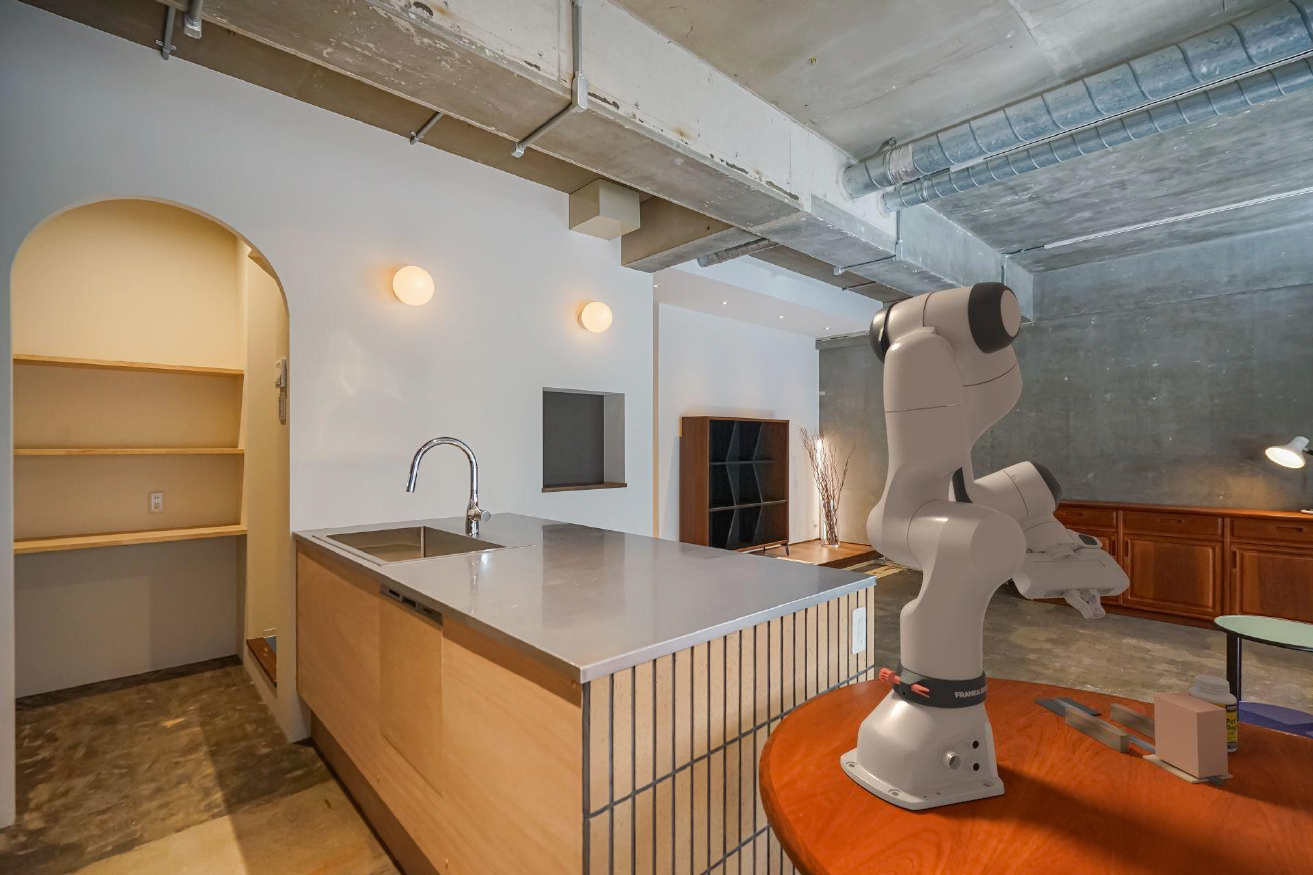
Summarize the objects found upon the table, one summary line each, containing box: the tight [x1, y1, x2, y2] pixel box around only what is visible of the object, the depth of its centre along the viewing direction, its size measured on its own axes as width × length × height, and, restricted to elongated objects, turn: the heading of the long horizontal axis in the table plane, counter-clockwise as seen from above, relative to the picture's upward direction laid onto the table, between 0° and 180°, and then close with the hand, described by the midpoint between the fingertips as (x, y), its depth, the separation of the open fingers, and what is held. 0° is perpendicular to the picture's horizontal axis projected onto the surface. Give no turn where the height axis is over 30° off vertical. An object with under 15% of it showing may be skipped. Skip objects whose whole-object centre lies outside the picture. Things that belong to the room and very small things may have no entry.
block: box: [1153, 692, 1229, 778], centre depth 87 cm, size 6×5×9 cm
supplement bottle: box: [1188, 674, 1239, 753], centre depth 94 cm, size 6×6×10 cm
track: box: [1049, 697, 1225, 786], centre depth 97 cm, size 28×10×2 cm, turn 10°
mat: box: [1142, 753, 1234, 784], centre depth 88 cm, size 7×7×1 cm
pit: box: [1033, 696, 1102, 718], centre depth 108 cm, size 7×7×1 cm
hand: (1096, 616), depth 102 cm, fingers closed
